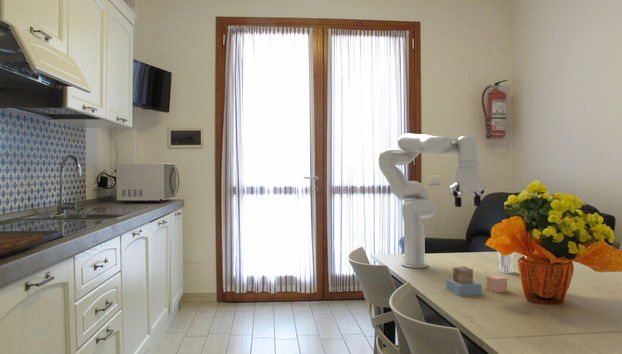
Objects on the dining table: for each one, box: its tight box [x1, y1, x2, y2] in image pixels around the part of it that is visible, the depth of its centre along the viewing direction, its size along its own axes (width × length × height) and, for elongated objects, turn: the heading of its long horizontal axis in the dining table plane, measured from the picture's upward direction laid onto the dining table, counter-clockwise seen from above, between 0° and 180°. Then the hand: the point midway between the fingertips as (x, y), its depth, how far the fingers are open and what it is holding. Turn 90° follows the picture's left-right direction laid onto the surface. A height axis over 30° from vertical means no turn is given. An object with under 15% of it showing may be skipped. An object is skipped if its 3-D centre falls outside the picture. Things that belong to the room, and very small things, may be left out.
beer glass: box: [497, 251, 515, 274], centre depth 179 cm, size 7×7×15 cm
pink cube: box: [486, 274, 508, 293], centre depth 152 cm, size 5×5×5 cm
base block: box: [445, 278, 483, 297], centre depth 151 cm, size 9×9×4 cm
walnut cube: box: [452, 266, 474, 284], centre depth 151 cm, size 5×5×5 cm
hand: (467, 206), depth 168 cm, fingers open, 9 cm apart
